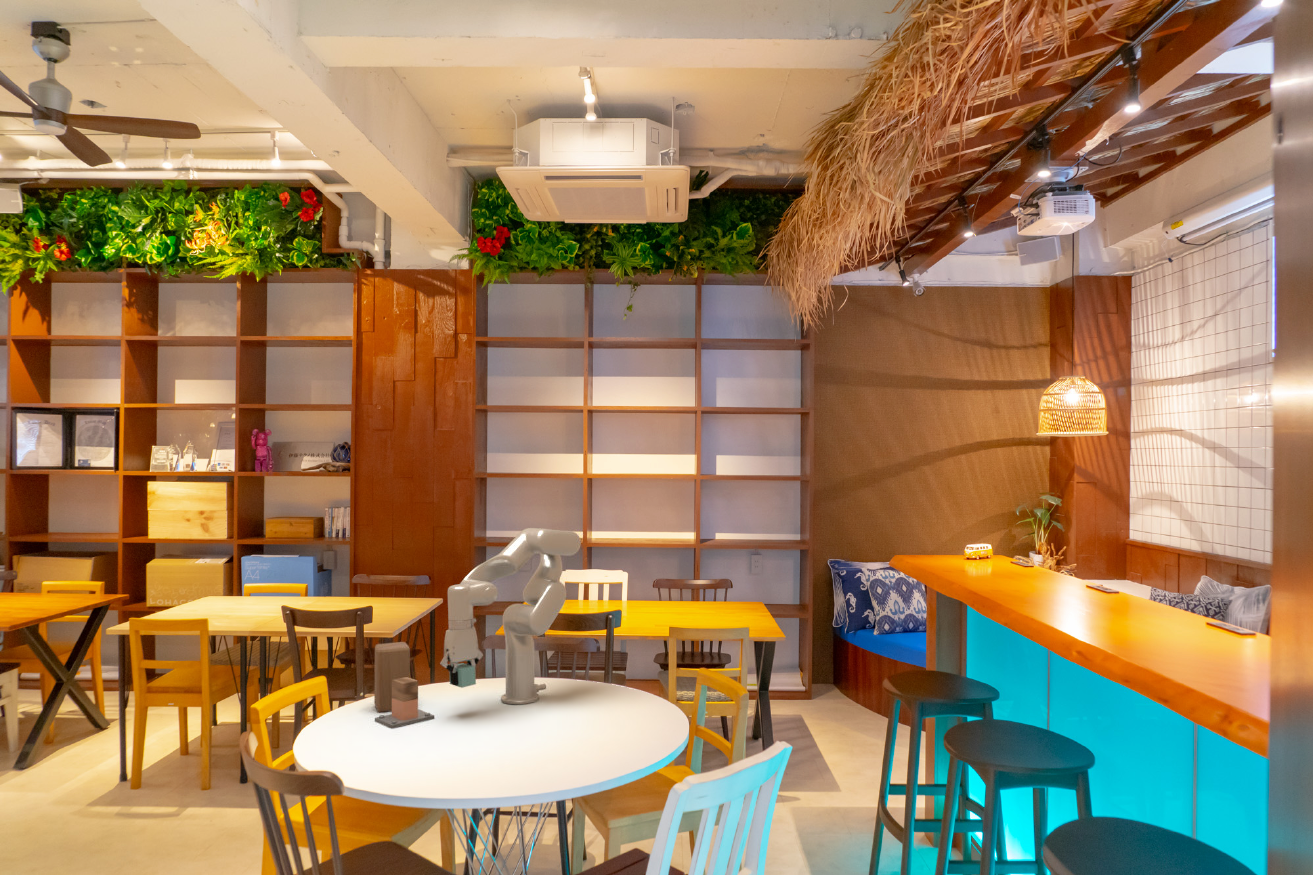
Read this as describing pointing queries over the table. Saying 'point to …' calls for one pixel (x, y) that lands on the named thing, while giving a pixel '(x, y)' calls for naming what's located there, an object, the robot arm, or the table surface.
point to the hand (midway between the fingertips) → (462, 682)
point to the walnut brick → (404, 689)
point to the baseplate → (402, 723)
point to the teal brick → (465, 675)
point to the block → (389, 671)
